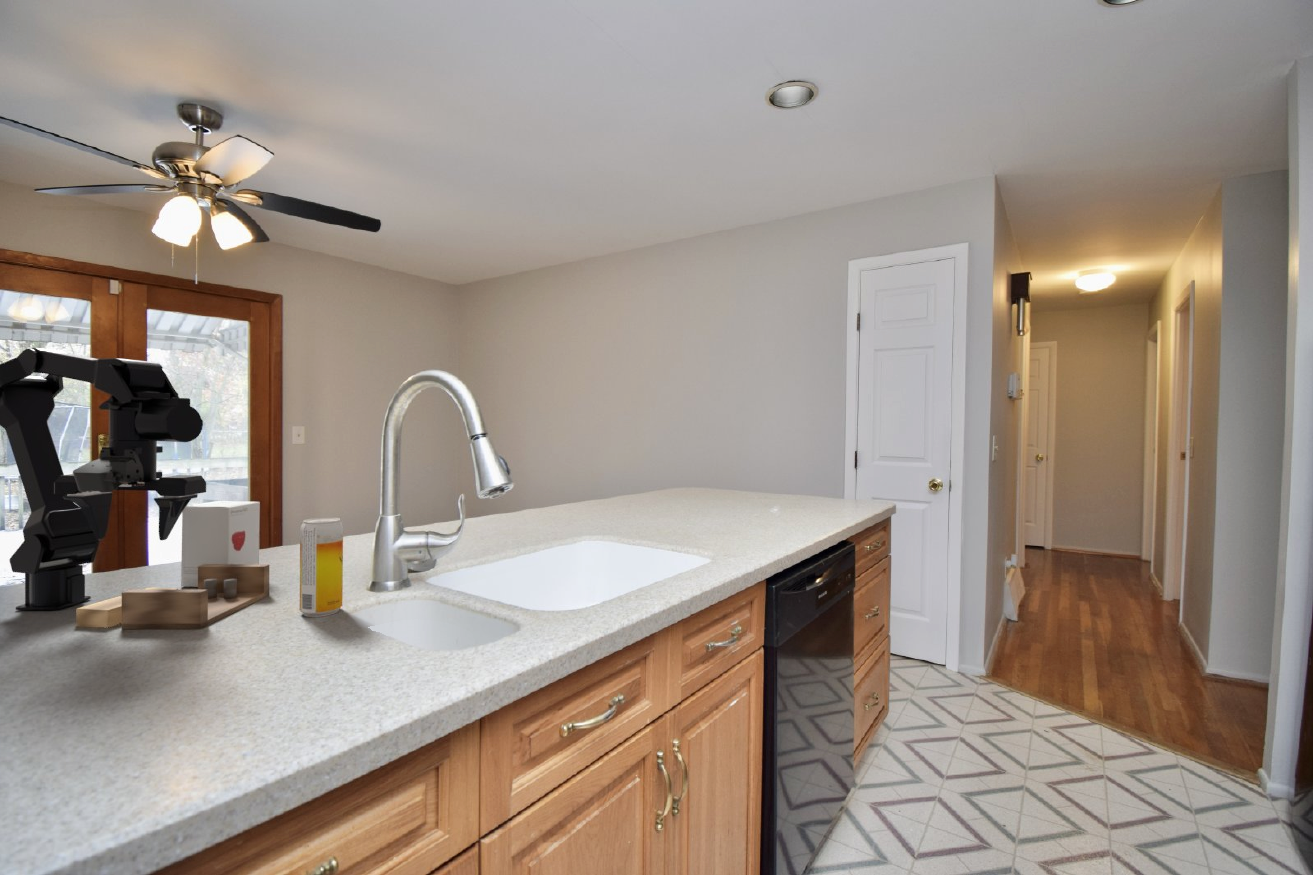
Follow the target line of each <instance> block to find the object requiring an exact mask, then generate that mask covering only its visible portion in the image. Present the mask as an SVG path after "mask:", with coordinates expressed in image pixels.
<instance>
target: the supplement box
mask: <svg viewBox="0 0 1313 875" xmlns="http://www.w3.org/2000/svg"><path fill="white" fill-rule="evenodd" d="M260 503H261V502H260V501H250V500H249V501H243V500H241V501H239V500H238V501H237V500H215V501H208V502H202V503H195V504H190V505H189V504H187V506H186V507H185V509H184V510H183V511H182V513H181V517H182V518H181V522H182V524H181V525H182V526H181V534H182V535H181V563H180V564H181V566H180V567H181V569H180V571H181V572H180V577H181V578H180V586H181V587H187V588H189V587H191V588H198V566H201V565H204V564H260V520H261V519H260V516H261V515H260V514H261V513H260V512H261V509H260V508H261V507H260V506H261V504H260Z"/></svg>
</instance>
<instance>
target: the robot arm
mask: <svg viewBox="0 0 1313 875" xmlns="http://www.w3.org/2000/svg"><path fill="white" fill-rule="evenodd" d="M35 373H36V374H45V375H46V376H45V377H44V378H43V377H42V376H40V375H39V376H36V375H35V376H34V375H33V374H35ZM64 378H67V379H71V380H76V381H80V382H86V383H90V384H91V385H93V387H94V388H95V389H96V390H98V391H100V392H102V393H105V394H107V395H110V397H109V398H108V399H106V400H105V401H103V402H102V403H100V405H99V406H98V408H99V410H101V411H108V446H101V449H100V451H99V453H100V454H99V455H100V456H99V458H97V459H95V460H92V461H89V462H88V463H85V464H83V465H81V466H79V467H77V468H75V469H73V471H72V473H73V474H71V473H70V474H64V473H65V472H64V471H63V467H62V465H61V462H60V458H59V455H58V451H57V449H56V446H55V443H54V439H53V436H52V433H51V431H50V428H49V424H48V423H49V422H48V421H49V419H50V417H51V415H52V413H53V411H54V410H55V407H56V404H55V398H56V397H57V396H58V395H59V394H60V393H61V392H62V391H63V390H64V380H63V379H64ZM203 426H204V420H203V419H202V416H201V415H200V412H198V410H197V409H195V407H193V406H191V398H188V397H180V396H179V393H178V392H177V391H176V390H175V388H174V386H173V384H172V382H171V381H170V379H169V377H168V374H166V372H165V371H164V370H163V366H162V365H161V364H160V363H159V362H156V361H149V360H148V361H146V360H139V359H128V358H127V359H126V358H117V357H107V358H104V357H103V358H95V357H89V356H83V355H79V354H73V353H67V352H65V351H63V350H61V349H51V348H42V347H41V348H40V347H30V348H25V349H24V350H23V351H22V352H21V353H20V354H19V355H18V356H17V357H14V358H12V359H10V360H7V361H5V362H1V363H0V427H1V428H3V429H4V430H5V432H6V436H7V438H8V442H9V445H10V448H11V451H12V455H13V457H14V461H15V464H16V467H17V470H18V473H19V477H20V480H21V483H22V486H23V489H24V492H25V495H26V498H27V499H26V500H27V502H28V505H29V507H30V514H29V516H28V519H27V520H26V522H25V525H24V527H23V529H22V533H23V539H24V540H23V542H22V543H21V545H20V546H19V547H18V548H17V549H16V551H15V552H14V553H13V554H12V555H11V557H10V558H9V564H10V568H11V571H12V573H19V574H24V590H25V591H24V603H23V604H20V605H17V606H15V610H16V611H56V610H62V609H64V608H69V607H70V606H74V605H76V604H79V603H80V604H81V603H83V602H86V601H88V600H91V599H92V598H91V597H92V596H91V595H86V575H85V573H83V572H84V571H83V565H85V564H93V563H94V561H95V558H96V555H97V552H98V548H99V544H100V542H101V540H104V539H105V537H106V535H107V531H108V527H109V519H110V512H111V506H112V500H113V494H114V493H113V492H114V491H146V492H147V491H148V492H149V491H151V492H152V491H153V492H154V491H155V492H156V493H157V494H158V495H159V497H154V498H153V500H154V502H155V504H156V505H157V507H158V510H159V511H158V512H159V513H158V536H159V540H160V541H166V540H167V539H168V538H169V536H170V534H171V532H172V530H173V529H174V527H175V525H176V523H177V521H178V519H179V518H180V515H181V516H182V511H183V510H184V509H185V507H186V506H188V505H189V502H191V500H192V499H196V498H198V494H203V493H207V481H206V480H205V478H204V477H203V476H202V475H194V474H192V475H191V474H190V475H189V474H188V475H187V474H178V475H169V476H163V471H157V465H158V464H157V457H158V456H157V454H161V453H163V451H164V449H163V448H164V447H163V445H157V443H158V442H166V443H167V442H169V443H189V442H192V441H194V440H196V439H197V438H198V437H199V436H200V434H201V433H202V430H203Z"/></svg>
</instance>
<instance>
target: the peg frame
mask: <svg viewBox="0 0 1313 875" xmlns="http://www.w3.org/2000/svg"><path fill="white" fill-rule="evenodd" d="M121 596H122V623H121V630H200V629H201V630H202V629H203V628H205V627H208V626H209V625H211V624H213V623H216V622H217V621H219V620H221V619H223V618H225V617H228V616H229V615H231V614H233V613H235V612H238V611H240V610H242V609H244V608H246V607H248V606H249V605H252V604H254V603H256V602H257V601H259V600H262V599H264V598H266V597H267V596H270V564H260V563H259V564H204V565H201V566H198V587H197V589H178V590H170V589H146V588H144V589H142V588H139V589H128V590H127V589H126V591H122V592H121Z"/></svg>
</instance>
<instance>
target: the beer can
mask: <svg viewBox="0 0 1313 875" xmlns="http://www.w3.org/2000/svg"><path fill="white" fill-rule="evenodd" d="M299 530H300V531H299V532H300V533H299V535H300V536H299V611H300V613H302V614H303V616H305V617H308V618H309V617H310V618H320V617H326V616H327V617H328V616H332V615H334V614H336V613H338V612H339V610H340V609H341V607H343V589H344V588H343V587H344V586H343V581H344V580H343V578H344V576H343V571H344V569H343V568H344V564H343V562H344V561H343V560H344V525H343V523H342V521H341V518H340V517H329V516H328V517H314V518H308V519H307V518H306V519H304V520H302V524H301V526H300V529H299Z"/></svg>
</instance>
